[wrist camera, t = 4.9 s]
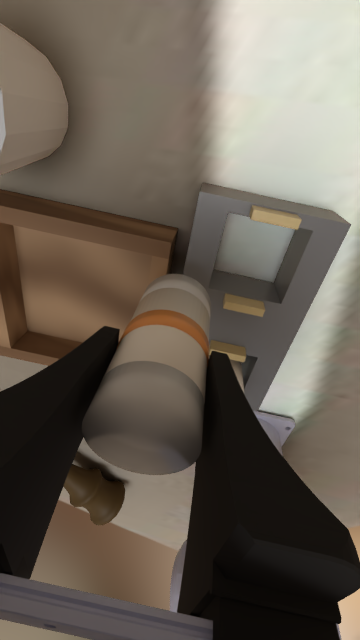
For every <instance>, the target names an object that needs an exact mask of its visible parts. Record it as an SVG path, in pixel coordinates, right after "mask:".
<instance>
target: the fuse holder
mask: <svg viewBox="0 0 360 640" xmlns="http://www.w3.org/2000/svg"><path fill="white" fill-rule="evenodd" d="M228 212H230V213H234V214H239V215H243V216H248V217H250V219H251V220H255V221H259V222H264V223H269V224H273V225H278V226H282V227H287V228H291V229H296V230H295V232H294V235H293V237H292V240H291V242H290V245H289V247H288V250H287V252H286V254H285V257H284V259H283V262H282V264H281V267H280V269H279V272H278V274H277V277H276V279H275V282H274V283H272V282H267V281H263V280H258V279H254V278H249V277H245V276H240V275H235V274H231V273H226V272H222V271H217V270H213V268H214V264H215V261H216V257H217V253H218V249H219V245H220V242H221V238H222V234H223V230H224V227H225V223H226V219H227V215H228ZM350 226H351V224H350V223H349V222H347V221H346V220H344V219H343V218H342V217H340V216H339V215H338V214H336V213H335V212H334V211H331V210H326V209H321V208H317V207H312V206H308V205H303V204H299V203H294V202H289V201H285V200H280V199H276V198H271V197H267V196H262V195H257V194H253V193H248V192H244V191H239V190H234V189H230V188H225V187H221V186H216V185H212V184H207V183H203V184H202V186H201V189H200V192H199V197H198V202H197V207H196V212H195V217H194V222H193V227H192V232H191V237H190V242H189V247H188V251H187V256H186V261H185V266H184V271H183V275H185V276H188V277H191V278H193V279H195V280H196V281H198V282H199V283H200V284H201V285H202V286H203V287H204V288H205V289H206V291H207V293H208V295H209V297H210V301H211V315H210V330H209V355H211V352H212V351H217V352H221V353H225V354H227V355H228V356H229V359H231V360H235V361H240V362H242V373H243V385H244V394H245V396H246V398H247V400H248V402H249V404H250V406H251V408H252V410H253V411H258V409H259V407H260V405H261V403H262V401H263V399H264V397H265V395H266V393H267V391H268V389H269V387H270V385H271V383H272V381H273V379H274V377H275V375H276V373H277V371H278V369H279V367H280V365H281V363H282V361H283V359H284V357H285V355H286V353H287V351H288V349H289V347H290V345H291V343H292V341H293V339H294V338H295V336H296V334H297V332H298V330H299V328H300V326H301V324H302V322H303V320H304V318H305V316H306V314H307V312H308V310H309V308H310V306H311V304H312V302H313V300H314V298H315V296H316V294H317V292H318V290H319V288H320V286H321V284H322V282H323V280H324V278H325V276H326V274H327V272H328V270H329V268H330V266H331V264H332V262H333V260H334V258H335V256H336V254H337V252H338V250H339V248H340V246H341V244H342V242H343V240H344V238H345V236H346V234H347V232H348V230H349V228H350Z"/></svg>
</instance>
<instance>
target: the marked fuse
mask: <svg viewBox="0 0 360 640" xmlns="http://www.w3.org/2000/svg"><path fill="white" fill-rule="evenodd" d="M210 315H211V301H210V297H209V295H208V293H207V291H206V289H205V288H204V287H203V286H202V285H201V284H200V283H199V282H198V281H196V280H195V279H193V278H191V277H188V276H185V275H181V274H168V275H163V276H160V277H158V278H156V279H155V280H153V281H152V282H151V283H150V284H149V285H148V287H147V288H146V290H145V292H144V294H143V296H142V298H141V300H140V302H139V304H138V306H137V308H136V311H135V313H134V315H133V317H132V319H131V321H130V322H129V324H128V325H127V327H126V328H125V331H124V333H123V335H122V337H121V339H120V341H119V343H118V345H117V349H116V352H115V354H114V356H113V358H112V360H111V362H110V365H109V367H108V369H107V371H106V373H105V375H104V377H103V379H102V381H101V383H100V385H99V387H98V389H97V392H96V394H95V396H94V398H93V400H92V402H91V404H90V406H89V408H88V410H87V412H86V414H85V417H84V419H83V422H82V433H83V436H84V438H85V441H86V442H87V444H88V445H89V447H90V448H91V449H92V450H93V451H94V452H95V453H96V454H97V455H98V456H100V457H101V458H102V459H104V460H106V461H107V462H109V463H111V464H113V465H115V466H117V467H119V468H122V469H125V470H128V471H131V472H135V473H140V474H148V475H164V474H171V473H176V472H179V471H182V470H184V469H186V468H188V467H189V466H191V465H192V464H193V463H194V462H195V461H196V460H197V459H198V457H199V455H200V453H201V449H202V434H203V419H204V404H205V389H206V374H207V367H208V364H209V330H210Z"/></svg>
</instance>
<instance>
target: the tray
mask: <svg viewBox="0 0 360 640" xmlns="http://www.w3.org/2000/svg"><path fill="white" fill-rule="evenodd" d="M177 231H178V228H174V227H170V226H165V225H161V224H156V223H151V222H147V221H142V220H138V219H133V218H129V217H124V216H119V215H115V214H110V213H106V212H101V211H97V210H92V209H87V208H83V207H78V206H74V205H69V204H65V203H60V202H55V201H51V200H46V199H42V198H37V197H33V196H28V195H23V194H19V193H14V192H10V191H5V190H0V355H2V356H7V357H11V358H16V359H20V360H25V361H30V362H34V363H39V364H43V365H48V366H50V365H51V364H53V363H54V362H56V361H57V360H59V359H60V358H62V357H63V356H65V355H66V354H68V353H69V352H71V351H72V350H73V349H75V348H76V347H77V346H79V345H80V344H82V343H83V342H84V341H85V340H87V339H88V338H89V337H91V336H92V335H93V334H94V333H96V332H97V331H98V330H99V329H100V328H102V327H103V326H108V327H113V328H117V329H120V332H119V341H120V339H121V337H122V335H123V333H124V331H125V328H126V327H127V325H128V324H129V322H130V321H131V319H132V317H133V315H134V313H135V311H136V308H137V306H138V304H139V302H140V300H141V298H142V296H143V294H144V292H145V290H146V288H147V287H148V285H149V284H150V283H151V282H152V281H153V280H155V279H156V278H158V277H160V276H163V275H168V274H170V270H171V265H172V259H173V253H174V248H175V242H176V236H177ZM118 343H119V342H118Z"/></svg>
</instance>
